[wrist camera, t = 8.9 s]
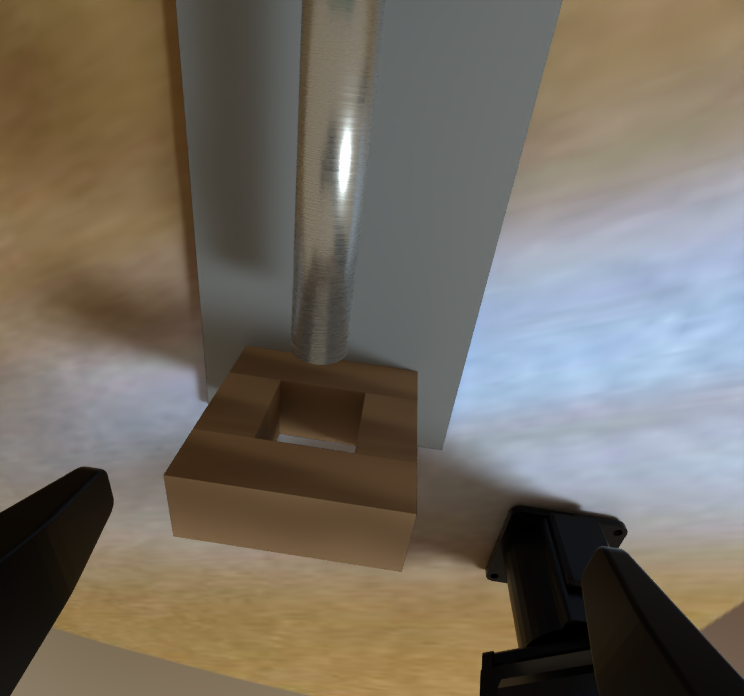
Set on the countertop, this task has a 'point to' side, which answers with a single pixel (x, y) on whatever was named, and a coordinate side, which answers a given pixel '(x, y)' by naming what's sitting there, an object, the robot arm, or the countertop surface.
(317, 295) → the green cube on rod
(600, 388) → the countertop surface
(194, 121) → the base board
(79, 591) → the countertop surface
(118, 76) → the countertop surface
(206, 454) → the square wooden collar
